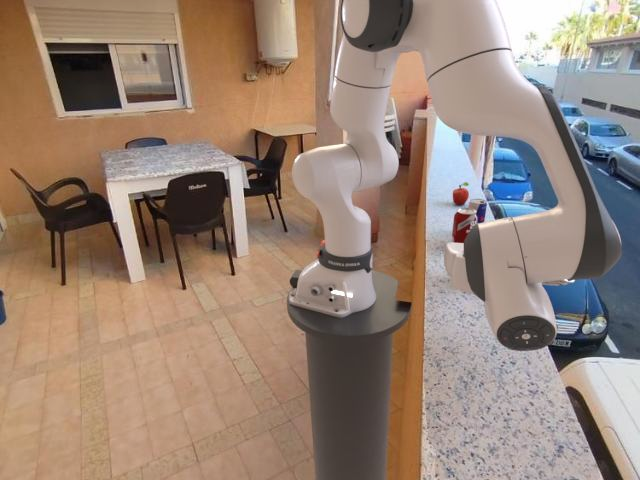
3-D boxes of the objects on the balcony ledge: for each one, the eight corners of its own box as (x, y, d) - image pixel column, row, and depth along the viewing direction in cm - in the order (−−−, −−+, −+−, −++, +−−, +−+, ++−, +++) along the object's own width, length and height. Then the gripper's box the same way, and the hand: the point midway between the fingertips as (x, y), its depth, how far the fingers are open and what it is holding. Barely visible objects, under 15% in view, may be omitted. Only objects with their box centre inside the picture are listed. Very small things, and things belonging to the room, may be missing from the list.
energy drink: (483, 239, 121) (489, 203, 116) (466, 238, 122) (471, 203, 117) (480, 232, 126) (485, 198, 121) (463, 232, 127) (467, 198, 122)
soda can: (447, 248, 116) (451, 212, 111) (454, 240, 121) (458, 205, 116) (470, 253, 112) (475, 216, 107) (476, 245, 117) (481, 209, 112)
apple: (446, 204, 154) (449, 180, 150) (456, 200, 157) (459, 177, 153) (463, 208, 148) (466, 184, 144) (473, 205, 152) (476, 181, 148)
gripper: (583, 267, 58) (559, 233, 70) (446, 255, 64) (446, 225, 76) (573, 301, 61) (552, 263, 73) (443, 286, 67) (443, 253, 79)
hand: (497, 244), depth 75 cm, fingers open, 8 cm apart
